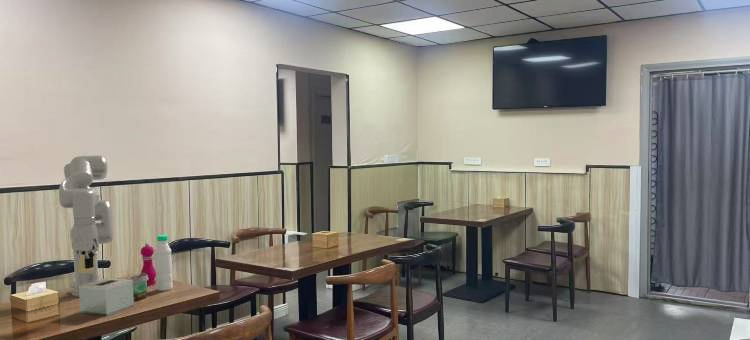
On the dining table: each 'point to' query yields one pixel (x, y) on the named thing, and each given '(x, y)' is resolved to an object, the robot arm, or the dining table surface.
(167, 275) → the water bottle
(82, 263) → the beige rectangular block
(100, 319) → the dining table surface
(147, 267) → the pepper mill
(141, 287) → the half-round slice
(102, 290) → the box
